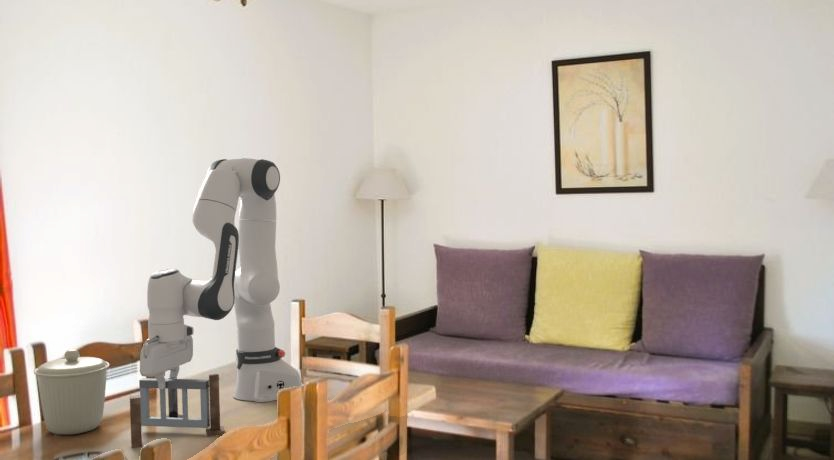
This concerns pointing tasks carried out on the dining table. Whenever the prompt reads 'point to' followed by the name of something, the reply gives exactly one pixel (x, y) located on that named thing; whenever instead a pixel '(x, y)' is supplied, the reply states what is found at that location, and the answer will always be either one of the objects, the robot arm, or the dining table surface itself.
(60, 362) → the canister
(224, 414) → the dining table surface
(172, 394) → the stop post
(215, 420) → the gate frame
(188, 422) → the gate
